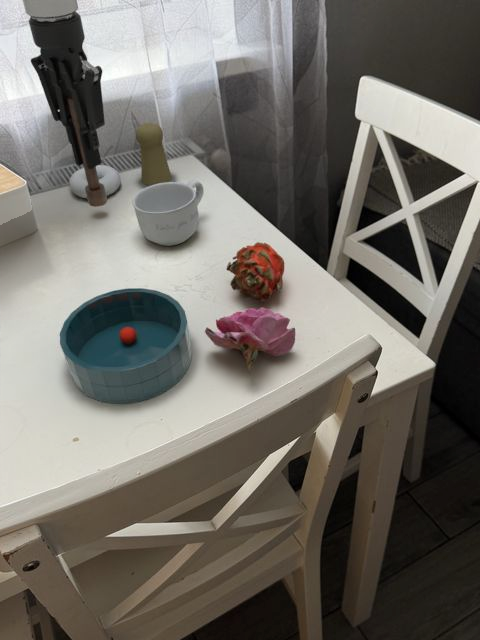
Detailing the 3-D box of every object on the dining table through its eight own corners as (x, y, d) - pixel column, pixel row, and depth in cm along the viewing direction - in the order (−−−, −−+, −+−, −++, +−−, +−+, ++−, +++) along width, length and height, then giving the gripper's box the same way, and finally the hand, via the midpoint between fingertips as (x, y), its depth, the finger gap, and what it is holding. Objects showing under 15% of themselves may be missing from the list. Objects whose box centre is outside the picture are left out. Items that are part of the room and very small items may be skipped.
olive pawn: (144, 188, 118) (134, 134, 111) (140, 174, 123) (130, 122, 115) (174, 183, 119) (166, 129, 112) (169, 170, 124) (161, 117, 116)
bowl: (45, 375, 81) (32, 342, 77) (125, 307, 91) (118, 275, 87) (139, 422, 75) (130, 389, 70) (214, 343, 85) (210, 311, 81)
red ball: (117, 344, 84) (114, 331, 83) (128, 334, 86) (125, 321, 84) (130, 349, 83) (127, 337, 82) (141, 339, 85) (138, 326, 83)
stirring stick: (84, 203, 109) (57, 98, 96) (97, 195, 111) (73, 91, 98) (98, 208, 108) (73, 102, 95) (111, 200, 110) (88, 95, 97)
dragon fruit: (258, 325, 90) (250, 286, 99) (303, 291, 87) (290, 255, 97) (221, 288, 85) (216, 252, 95) (267, 252, 83) (257, 218, 93)
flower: (228, 349, 88) (254, 288, 86) (281, 382, 84) (310, 319, 82) (181, 353, 79) (209, 284, 76) (238, 391, 74) (269, 320, 72)
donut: (105, 173, 124) (62, 189, 119) (102, 157, 121) (57, 173, 117) (132, 189, 118) (87, 207, 113) (129, 173, 116) (83, 190, 111)
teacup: (161, 261, 100) (153, 219, 94) (128, 234, 106) (119, 194, 101) (227, 230, 106) (224, 189, 101) (192, 207, 112) (187, 167, 107)
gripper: (109, 14, 87) (136, 164, 104) (36, 2, 93) (72, 146, 109) (72, 28, 83) (106, 183, 99) (-2, 14, 89) (42, 163, 105)
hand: (89, 163), depth 104 cm, fingers closed on stirring stick, 2 cm apart
